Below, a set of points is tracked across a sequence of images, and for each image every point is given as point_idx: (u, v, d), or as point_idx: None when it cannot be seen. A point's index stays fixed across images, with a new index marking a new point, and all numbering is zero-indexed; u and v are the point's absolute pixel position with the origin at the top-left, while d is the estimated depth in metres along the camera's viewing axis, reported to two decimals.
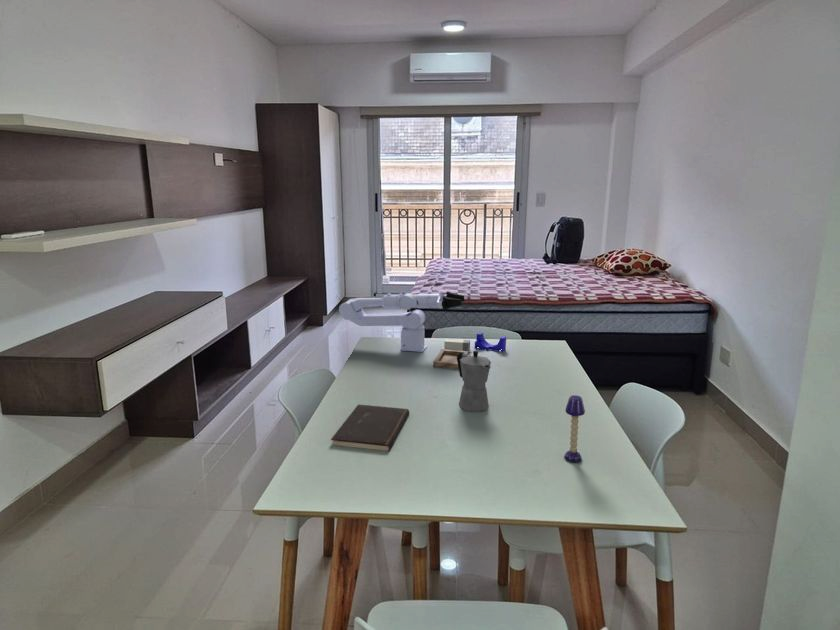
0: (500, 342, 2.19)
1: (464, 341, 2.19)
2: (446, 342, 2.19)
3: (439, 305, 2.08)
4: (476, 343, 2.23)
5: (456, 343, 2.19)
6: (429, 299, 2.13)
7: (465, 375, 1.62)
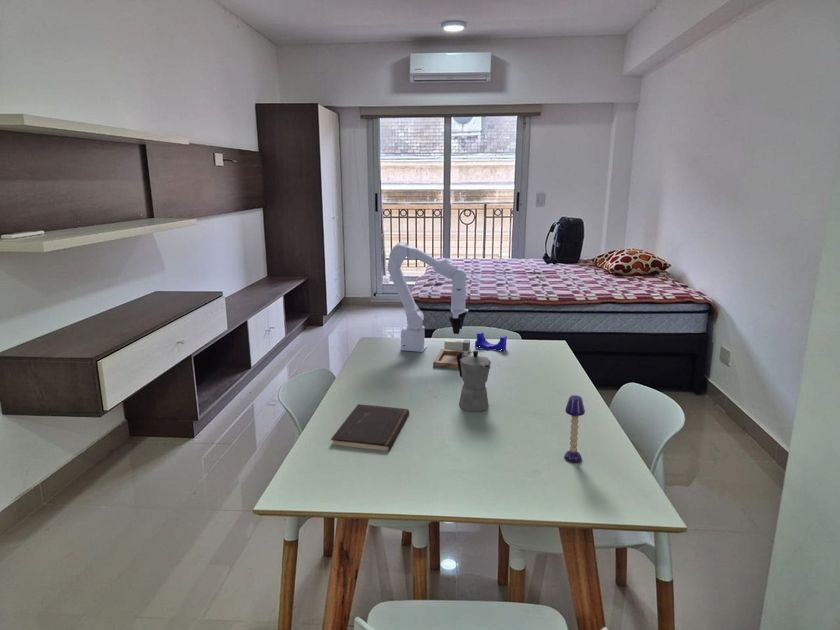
0: (501, 341, 2.20)
1: (464, 341, 2.19)
2: (446, 342, 2.19)
3: (454, 316, 2.10)
4: (476, 343, 2.24)
5: (456, 343, 2.19)
6: (460, 301, 2.13)
7: (465, 375, 1.62)
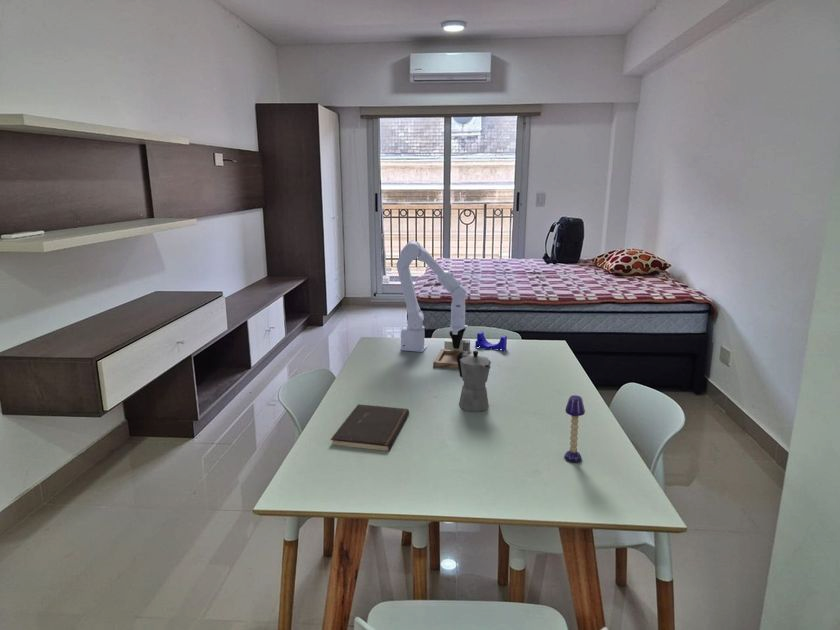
0: (501, 341, 2.20)
1: (464, 341, 2.19)
2: (446, 342, 2.19)
3: (454, 332, 2.12)
4: (477, 342, 2.24)
5: None
6: (459, 318, 2.15)
7: (465, 375, 1.62)
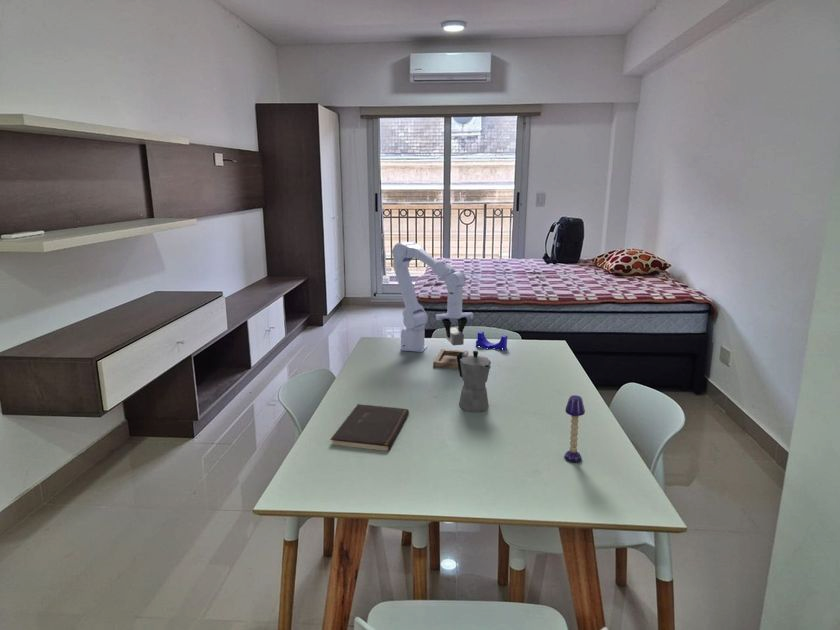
0: (501, 341, 2.21)
1: (455, 333, 2.07)
2: None
3: (436, 317, 2.07)
4: (477, 342, 2.25)
5: None
6: (449, 305, 2.05)
7: (465, 375, 1.62)
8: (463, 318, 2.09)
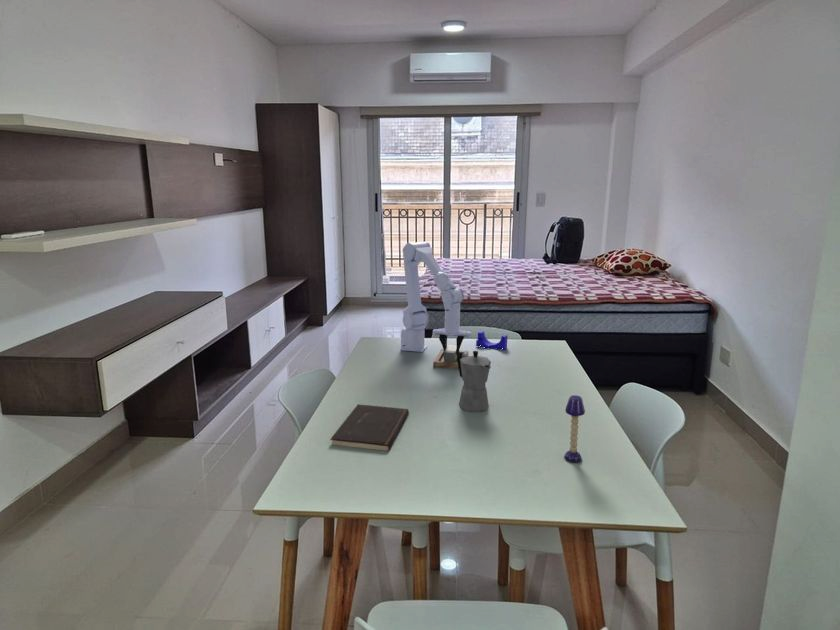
0: (502, 340, 2.21)
1: (449, 350, 2.03)
2: (448, 346, 2.10)
3: None
4: (478, 342, 2.25)
5: (446, 349, 2.07)
6: None
7: (465, 375, 1.62)
8: (460, 336, 2.04)
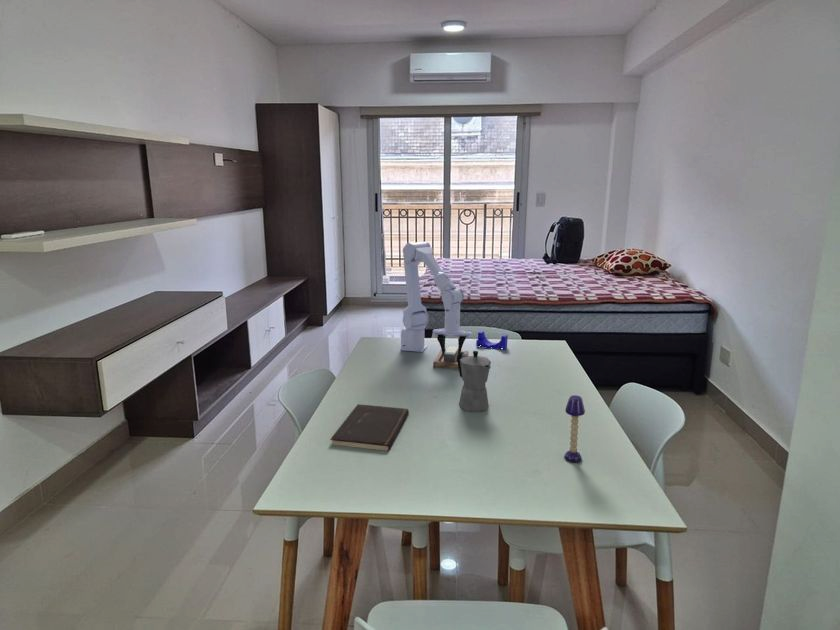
0: (502, 340, 2.21)
1: (449, 352, 2.04)
2: (448, 347, 2.11)
3: None
4: (478, 341, 2.25)
5: (446, 351, 2.07)
6: None
7: (465, 375, 1.62)
8: (460, 337, 2.04)
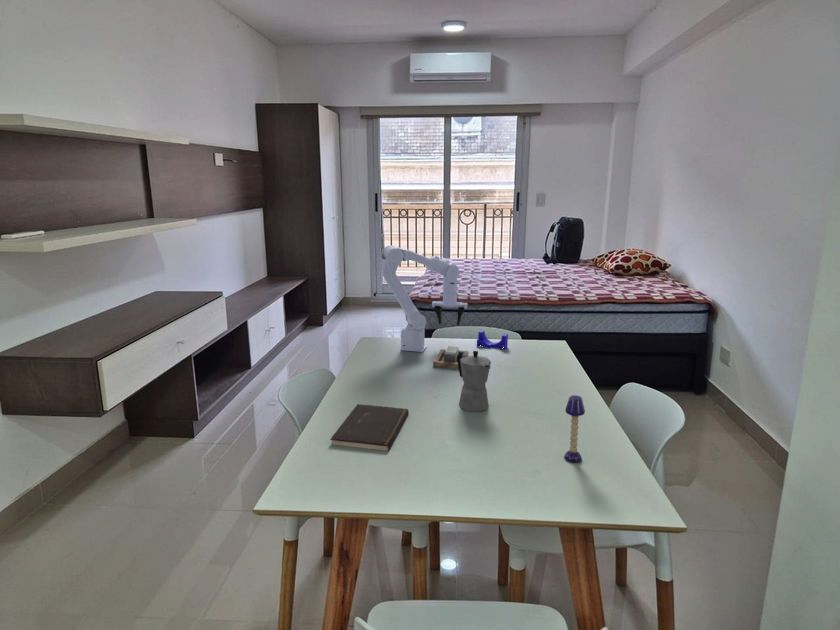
0: (502, 340, 2.22)
1: (449, 352, 2.04)
2: (448, 347, 2.11)
3: None
4: (478, 341, 2.26)
5: (446, 351, 2.07)
6: (443, 294, 2.21)
7: (465, 375, 1.62)
8: (457, 307, 2.21)
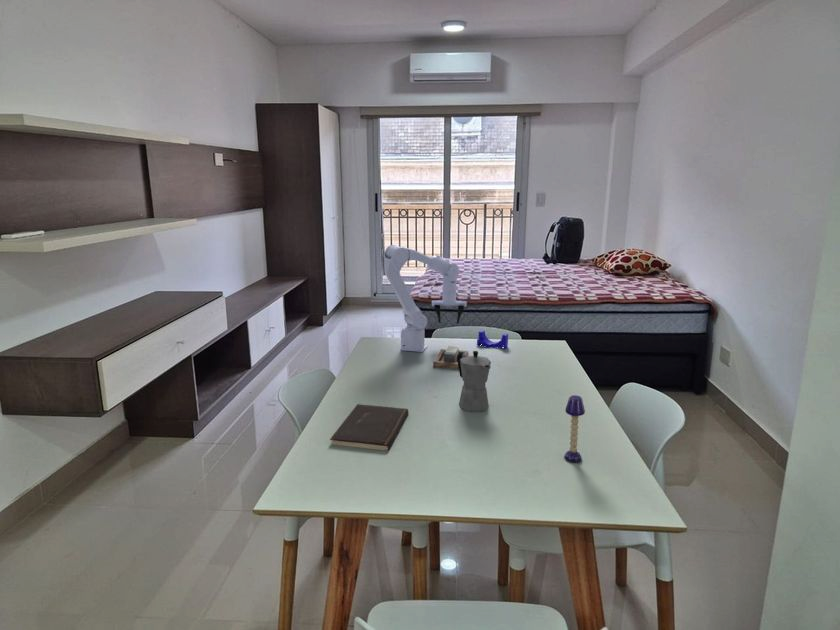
0: (502, 339, 2.23)
1: (449, 352, 2.04)
2: (448, 347, 2.11)
3: None
4: (478, 341, 2.26)
5: (446, 351, 2.07)
6: (443, 293, 2.23)
7: (465, 375, 1.62)
8: None
